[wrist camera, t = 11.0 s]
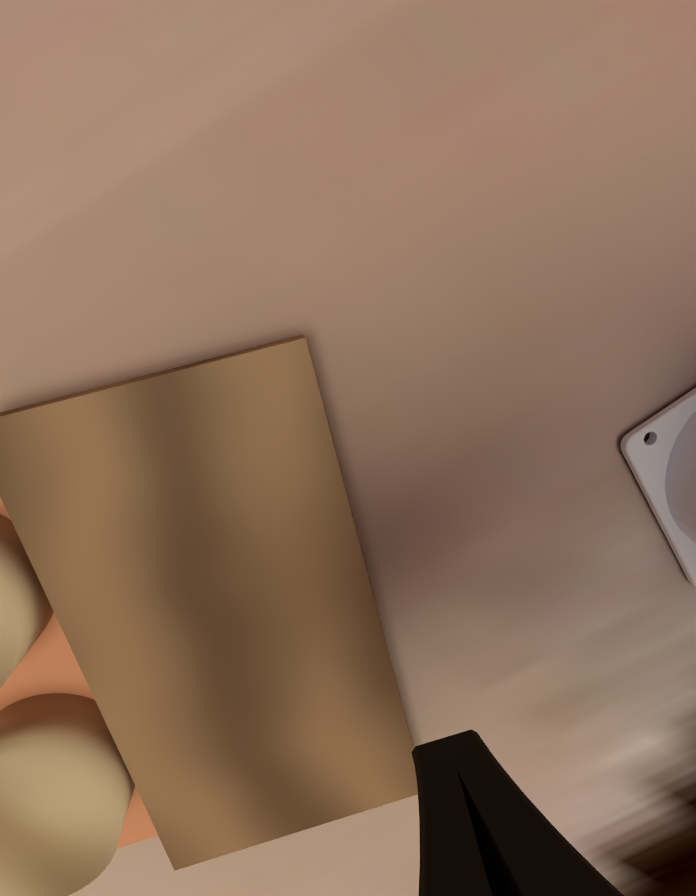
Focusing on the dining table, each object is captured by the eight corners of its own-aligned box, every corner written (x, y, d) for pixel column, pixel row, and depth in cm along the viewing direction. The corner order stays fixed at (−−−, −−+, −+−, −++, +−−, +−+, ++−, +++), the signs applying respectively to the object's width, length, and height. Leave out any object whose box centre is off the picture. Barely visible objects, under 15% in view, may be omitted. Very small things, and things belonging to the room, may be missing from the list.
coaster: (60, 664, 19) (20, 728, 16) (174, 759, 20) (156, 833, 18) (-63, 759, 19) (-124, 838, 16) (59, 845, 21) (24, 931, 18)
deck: (302, 335, 17) (305, 337, 15) (412, 750, 22) (424, 791, 20) (3, 412, 17) (-34, 425, 15) (184, 820, 22) (174, 870, 20)
